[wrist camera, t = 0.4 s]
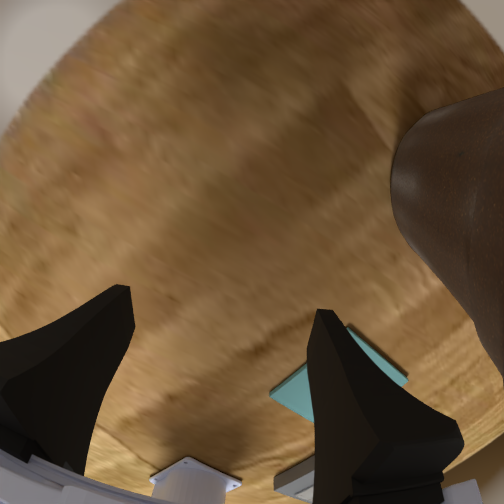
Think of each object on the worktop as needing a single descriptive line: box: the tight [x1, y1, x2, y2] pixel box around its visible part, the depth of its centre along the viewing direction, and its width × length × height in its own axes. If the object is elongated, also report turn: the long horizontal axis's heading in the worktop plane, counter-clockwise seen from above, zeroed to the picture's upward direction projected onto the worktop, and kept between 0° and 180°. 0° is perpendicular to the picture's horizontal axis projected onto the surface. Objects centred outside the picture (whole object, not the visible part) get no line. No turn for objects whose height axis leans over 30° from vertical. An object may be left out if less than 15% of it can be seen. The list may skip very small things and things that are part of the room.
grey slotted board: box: [274, 455, 315, 504], centre depth 29 cm, size 16×14×2 cm
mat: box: [269, 327, 409, 423], centre depth 26 cm, size 9×9×1 cm
